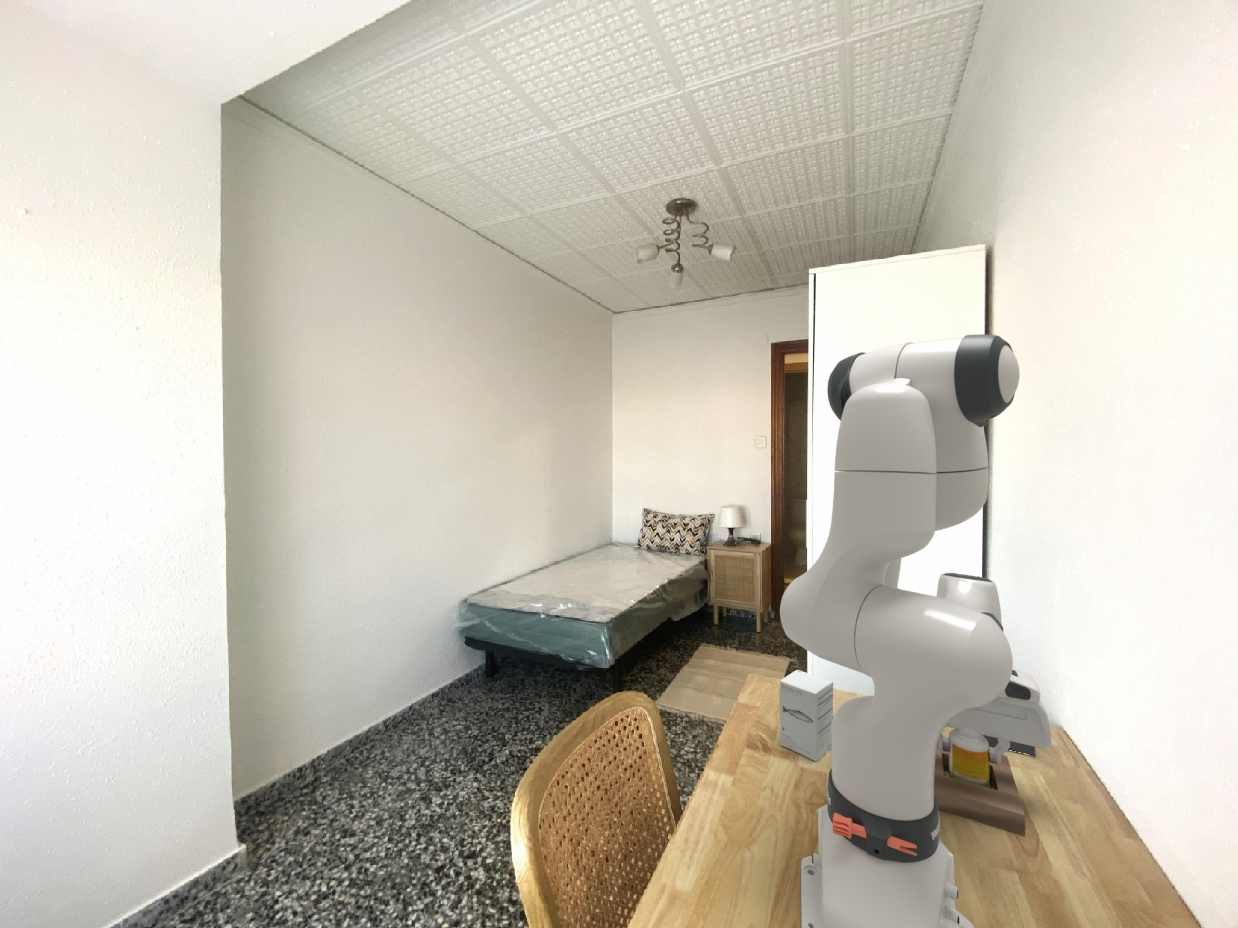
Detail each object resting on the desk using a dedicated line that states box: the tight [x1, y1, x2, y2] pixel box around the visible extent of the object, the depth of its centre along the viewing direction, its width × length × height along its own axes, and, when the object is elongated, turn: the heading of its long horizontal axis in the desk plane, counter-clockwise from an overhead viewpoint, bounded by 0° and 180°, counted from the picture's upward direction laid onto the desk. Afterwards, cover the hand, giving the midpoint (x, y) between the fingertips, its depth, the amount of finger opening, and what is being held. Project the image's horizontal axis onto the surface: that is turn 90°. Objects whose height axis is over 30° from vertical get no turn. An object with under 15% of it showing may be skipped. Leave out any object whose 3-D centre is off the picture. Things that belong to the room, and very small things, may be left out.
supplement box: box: [779, 669, 834, 762], centre depth 91 cm, size 7×7×13 cm
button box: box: [983, 735, 1036, 758], centre depth 92 cm, size 8×8×4 cm
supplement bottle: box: [948, 728, 990, 788], centre depth 79 cm, size 5×5×10 cm
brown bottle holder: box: [934, 743, 1026, 837], centre depth 79 cm, size 16×12×3 cm
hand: (968, 755), depth 79 cm, fingers closed on supplement bottle, 5 cm apart
